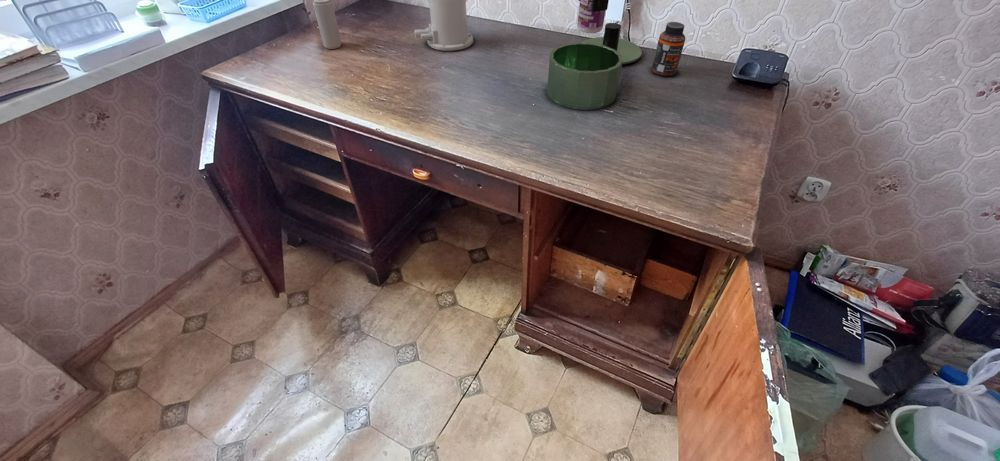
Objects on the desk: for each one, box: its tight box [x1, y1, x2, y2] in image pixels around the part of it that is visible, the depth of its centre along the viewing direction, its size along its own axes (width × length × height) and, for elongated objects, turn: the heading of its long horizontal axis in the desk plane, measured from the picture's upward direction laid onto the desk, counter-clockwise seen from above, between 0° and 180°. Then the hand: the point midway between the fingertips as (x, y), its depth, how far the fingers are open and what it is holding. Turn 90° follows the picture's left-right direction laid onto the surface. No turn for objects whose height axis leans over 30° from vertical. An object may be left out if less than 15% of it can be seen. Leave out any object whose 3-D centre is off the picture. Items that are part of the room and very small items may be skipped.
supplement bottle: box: [651, 21, 686, 77], centre depth 111 cm, size 6×6×11 cm
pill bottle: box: [576, 0, 607, 34], centre depth 94 cm, size 5×5×10 cm
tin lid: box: [580, 22, 643, 65], centre depth 120 cm, size 17×17×7 cm
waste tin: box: [546, 42, 624, 111], centre depth 104 cm, size 16×16×8 cm
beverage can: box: [312, 0, 343, 50], centre depth 123 cm, size 5×5×12 cm
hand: (592, 4), depth 94 cm, fingers closed on pill bottle, 5 cm apart
